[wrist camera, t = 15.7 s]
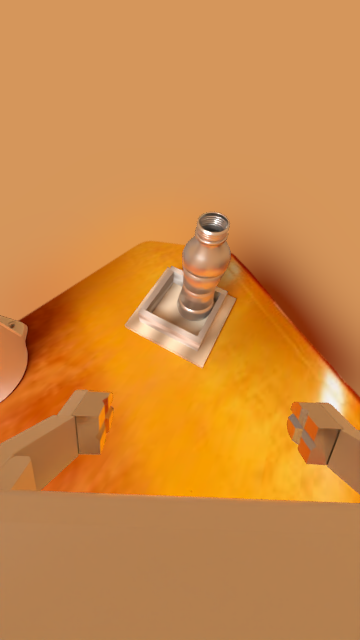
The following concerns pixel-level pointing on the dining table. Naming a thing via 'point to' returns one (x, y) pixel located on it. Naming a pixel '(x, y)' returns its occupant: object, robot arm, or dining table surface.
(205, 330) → the bottle holder
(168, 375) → the dining table surface
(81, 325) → the dining table surface
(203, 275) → the plastic bottle
